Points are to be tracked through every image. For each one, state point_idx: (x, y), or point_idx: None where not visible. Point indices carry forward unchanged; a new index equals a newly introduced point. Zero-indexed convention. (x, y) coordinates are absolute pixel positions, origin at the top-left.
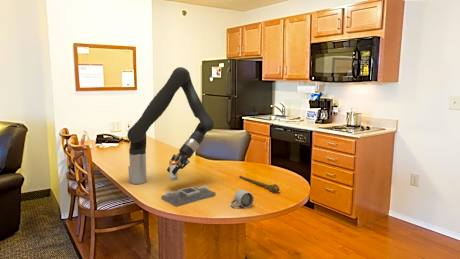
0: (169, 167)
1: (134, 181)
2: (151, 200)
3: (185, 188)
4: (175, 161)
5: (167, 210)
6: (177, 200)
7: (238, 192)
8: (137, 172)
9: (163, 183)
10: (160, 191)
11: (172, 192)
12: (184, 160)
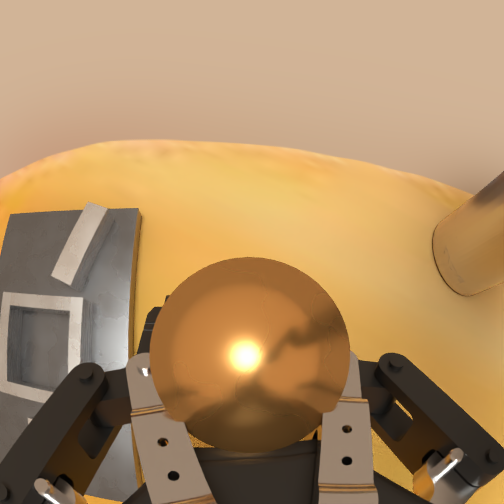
0: None
1: (445, 218)
2: (158, 169)
3: (77, 360)
4: (211, 380)
5: (23, 175)
6: (26, 238)
7: None
8: (473, 205)
9: None
10: None
11: (74, 242)
12: (28, 472)
